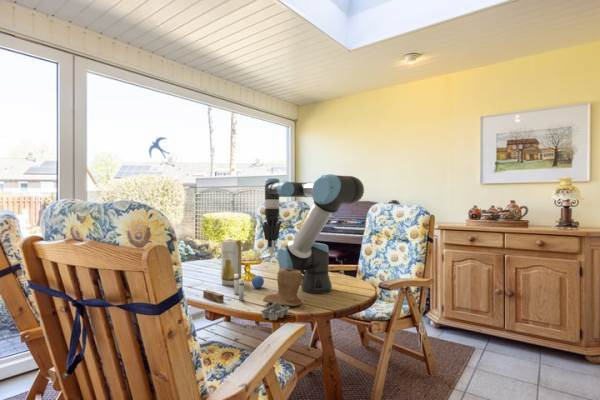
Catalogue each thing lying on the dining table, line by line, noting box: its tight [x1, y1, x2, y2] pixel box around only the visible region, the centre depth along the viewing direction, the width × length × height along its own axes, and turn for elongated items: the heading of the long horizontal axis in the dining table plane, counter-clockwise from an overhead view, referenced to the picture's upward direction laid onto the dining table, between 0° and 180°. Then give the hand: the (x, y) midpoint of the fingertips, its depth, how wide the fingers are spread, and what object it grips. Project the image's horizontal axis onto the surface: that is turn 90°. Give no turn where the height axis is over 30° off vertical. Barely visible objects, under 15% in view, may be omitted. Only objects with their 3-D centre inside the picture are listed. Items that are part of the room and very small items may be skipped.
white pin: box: [233, 274, 239, 295], centre depth 155 cm, size 2×2×9 cm
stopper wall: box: [202, 289, 225, 304], centre depth 146 cm, size 12×2×3 cm, turn 50°
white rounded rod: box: [238, 278, 245, 302], centre depth 145 cm, size 2×2×9 cm
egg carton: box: [260, 301, 291, 321], centre depth 127 cm, size 11×8×4 cm
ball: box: [251, 275, 265, 289], centre depth 166 cm, size 6×6×6 cm
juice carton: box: [220, 237, 242, 286], centre depth 173 cm, size 9×8×24 cm
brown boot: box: [262, 268, 303, 307], centre depth 141 cm, size 15×12×15 cm
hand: (271, 253), depth 174 cm, fingers closed
